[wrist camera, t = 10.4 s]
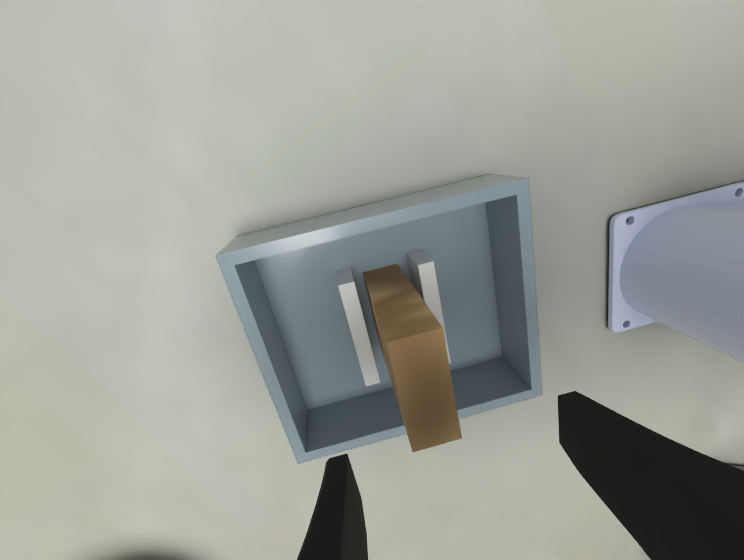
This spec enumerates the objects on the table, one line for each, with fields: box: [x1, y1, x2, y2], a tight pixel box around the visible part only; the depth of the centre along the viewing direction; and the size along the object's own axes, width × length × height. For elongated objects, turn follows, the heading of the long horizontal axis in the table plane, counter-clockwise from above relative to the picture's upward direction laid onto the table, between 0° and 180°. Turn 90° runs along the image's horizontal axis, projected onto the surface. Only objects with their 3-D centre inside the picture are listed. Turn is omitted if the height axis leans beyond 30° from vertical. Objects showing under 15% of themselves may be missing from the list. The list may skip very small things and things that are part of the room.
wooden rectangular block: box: [362, 264, 462, 452], centre depth 17 cm, size 2×5×8 cm, turn 13°
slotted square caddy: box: [215, 174, 542, 464], centre depth 19 cm, size 14×12×4 cm
